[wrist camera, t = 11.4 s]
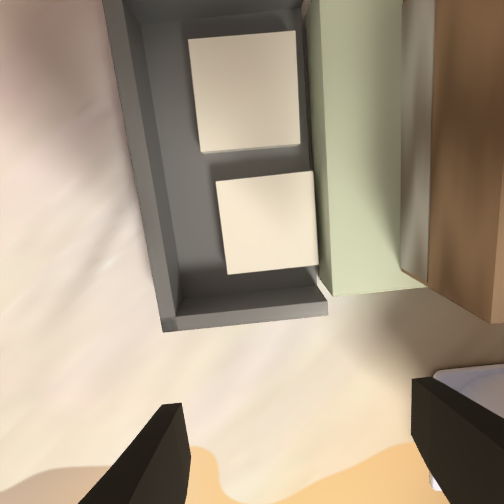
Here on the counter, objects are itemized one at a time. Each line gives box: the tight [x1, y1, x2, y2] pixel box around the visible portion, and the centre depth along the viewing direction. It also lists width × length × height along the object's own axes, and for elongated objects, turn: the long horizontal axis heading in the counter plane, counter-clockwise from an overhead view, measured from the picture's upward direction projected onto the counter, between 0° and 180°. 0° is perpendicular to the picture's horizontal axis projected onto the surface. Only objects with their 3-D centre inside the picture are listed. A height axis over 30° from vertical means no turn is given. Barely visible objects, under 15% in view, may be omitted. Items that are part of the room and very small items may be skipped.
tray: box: [102, 0, 328, 332], centre depth 16 cm, size 16×9×3 cm, turn 6°
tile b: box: [188, 31, 300, 154], centre depth 16 cm, size 5×5×1 cm
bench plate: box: [305, 0, 427, 297], centre depth 16 cm, size 14×10×3 cm
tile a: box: [216, 171, 319, 275], centre depth 17 cm, size 5×5×1 cm
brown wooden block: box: [400, 0, 504, 324], centre depth 12 cm, size 12×3×6 cm, turn 6°
